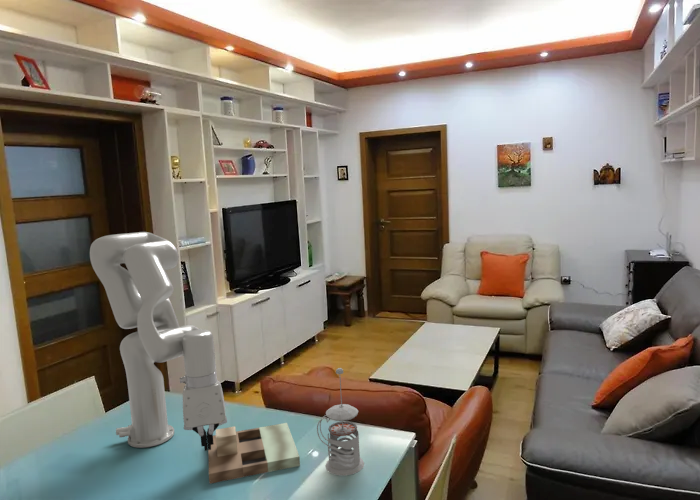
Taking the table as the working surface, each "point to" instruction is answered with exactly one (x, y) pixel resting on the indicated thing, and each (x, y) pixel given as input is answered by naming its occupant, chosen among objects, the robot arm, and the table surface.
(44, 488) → the table surface
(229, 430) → the maple block
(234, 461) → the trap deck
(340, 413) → the french press
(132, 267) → the robot arm
